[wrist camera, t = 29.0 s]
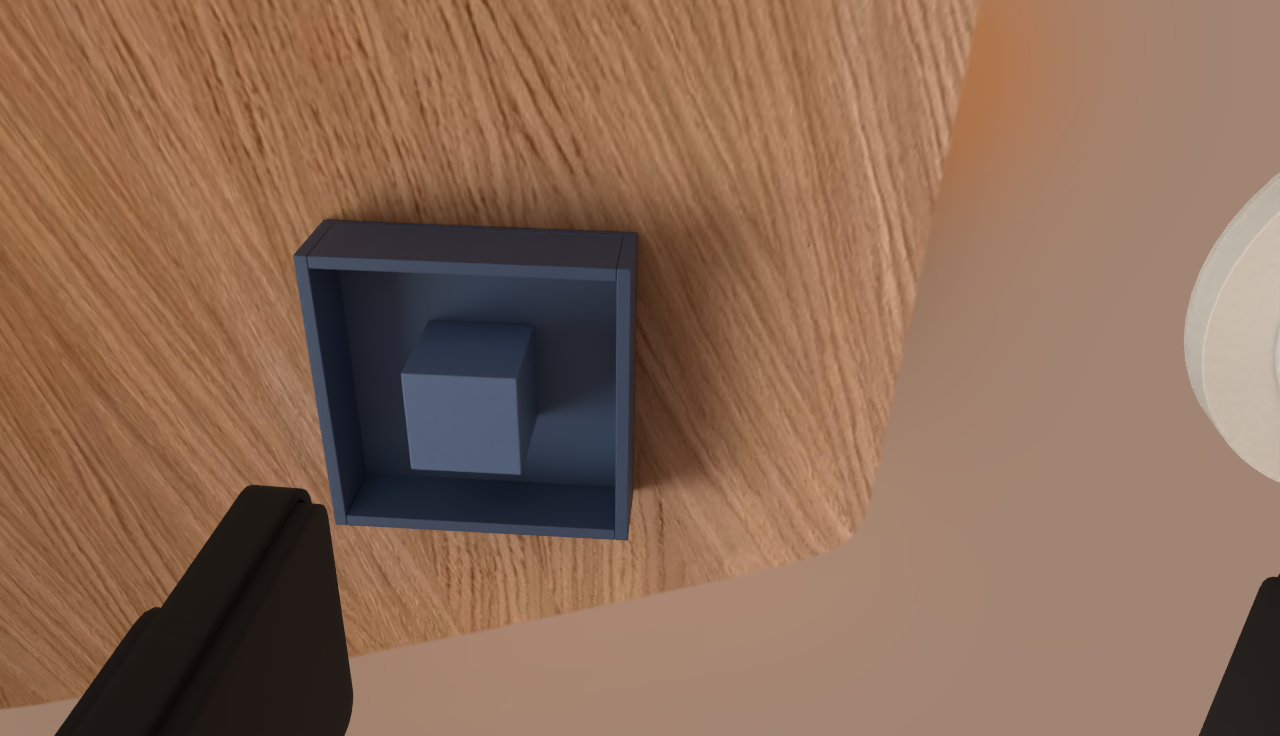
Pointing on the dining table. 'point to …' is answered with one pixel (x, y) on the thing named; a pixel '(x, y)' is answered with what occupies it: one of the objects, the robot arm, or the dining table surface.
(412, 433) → the blue block
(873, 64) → the dining table surface
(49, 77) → the dining table surface
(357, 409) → the blue bin
